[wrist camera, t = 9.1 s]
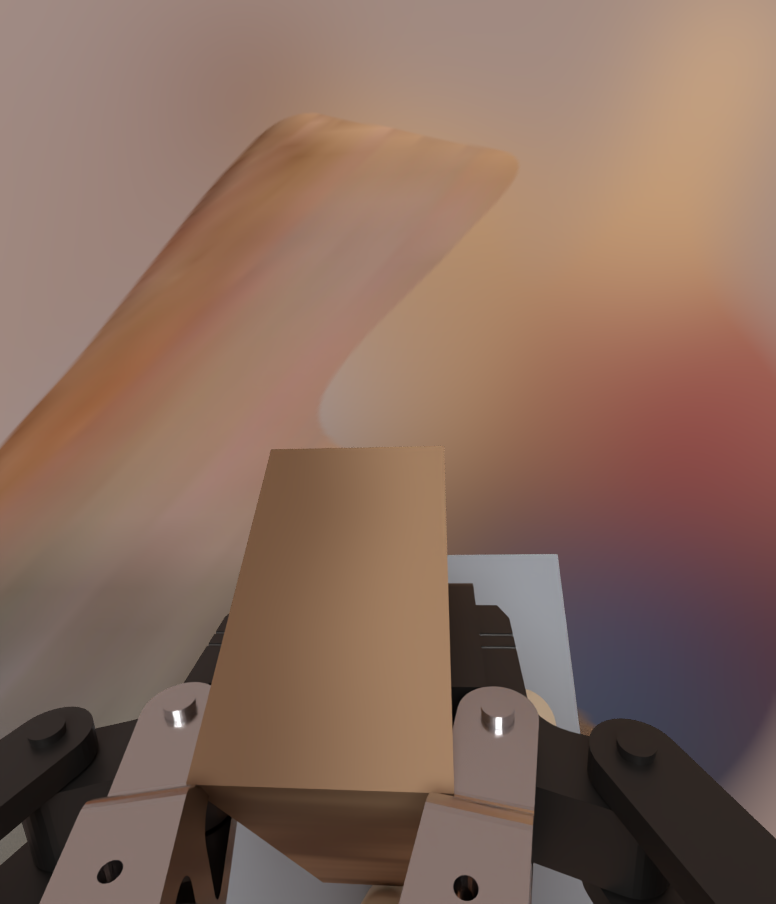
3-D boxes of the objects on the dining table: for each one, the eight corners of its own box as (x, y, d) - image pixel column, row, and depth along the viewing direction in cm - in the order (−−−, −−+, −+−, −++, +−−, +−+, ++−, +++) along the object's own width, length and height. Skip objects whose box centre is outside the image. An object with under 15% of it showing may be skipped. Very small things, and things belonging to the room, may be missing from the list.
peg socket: (552, 562, 22) (572, 525, 19) (601, 961, 16) (644, 1018, 13) (255, 564, 23) (221, 530, 20) (204, 940, 17) (144, 985, 14)
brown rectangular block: (445, 667, 19) (444, 445, 11) (450, 889, 15) (454, 793, 7) (344, 665, 19) (271, 449, 11) (323, 882, 15) (185, 784, 7)
